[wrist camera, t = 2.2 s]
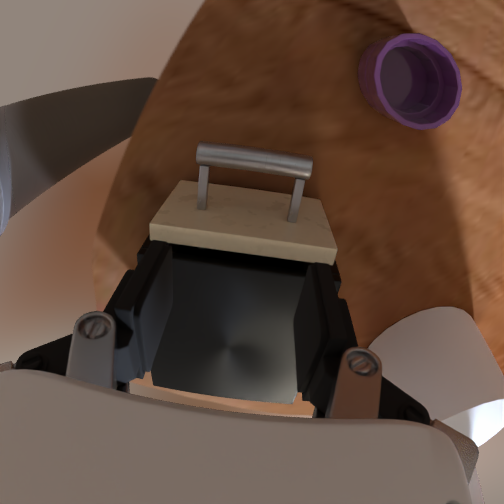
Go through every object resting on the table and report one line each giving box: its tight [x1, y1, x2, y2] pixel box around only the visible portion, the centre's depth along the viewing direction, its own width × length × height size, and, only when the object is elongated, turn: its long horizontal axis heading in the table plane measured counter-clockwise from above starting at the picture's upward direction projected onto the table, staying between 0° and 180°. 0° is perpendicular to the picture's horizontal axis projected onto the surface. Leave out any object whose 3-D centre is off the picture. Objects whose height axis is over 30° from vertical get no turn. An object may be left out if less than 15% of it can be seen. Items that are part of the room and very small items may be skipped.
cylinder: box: [367, 307, 504, 504], centre depth 25 cm, size 17×17×28 cm
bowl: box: [358, 33, 462, 130], centre depth 19 cm, size 7×7×5 cm
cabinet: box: [137, 234, 342, 404], centre depth 27 cm, size 14×13×10 cm
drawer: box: [150, 141, 338, 271], centre depth 24 cm, size 18×11×8 cm, turn 172°
